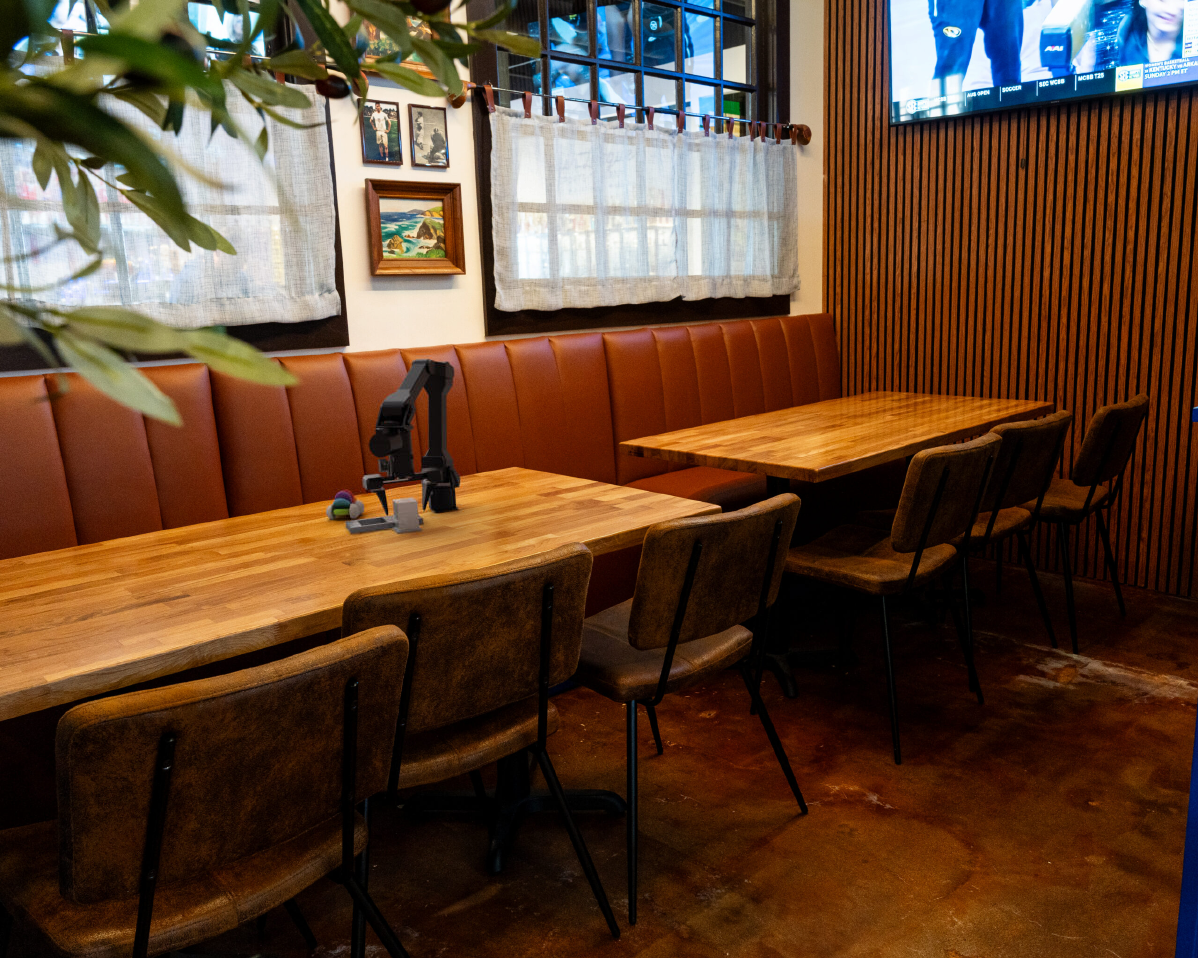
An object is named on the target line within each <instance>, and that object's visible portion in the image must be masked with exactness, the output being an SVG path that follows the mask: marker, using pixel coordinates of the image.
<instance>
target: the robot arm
mask: <svg viewBox="0 0 1198 958" xmlns="http://www.w3.org/2000/svg"><path fill="white" fill-rule="evenodd" d="M454 377H455V368H454V366H453V365H451V363H450V362H449V361H436V360H433V359H430V358H416V359H415V360H414V359H413V360H412V362H411V367H410V369H409V370H408V373H407V374H406V376H405V378H404V379H403V381H402V382H401V384H400V385H399V388H398V389H397V390H396V391H395V392H392V393H391V394H389V395H388V396H386V398H385V399H384V400H383V401H382V403H381V405H380V407H379V410H378V414H377V419H376V423H375V428H374V430H375V434H373V435H372V436H371V437H370V439H369V441H368V442H369V443H368V449H369V451H370V452H371V454H372V455H373V456H374V457H376V458H379V459H378V460H377V462H378V472H379V473H386V476H382V475H380V474H379V473H375V474H366V475H364V476H363V477H362V487H363V488H364V489H365V490H367V491H370V492H371V493H373V494H375V495H376V496H377V498H378V500H379V502H380V505H381V507H382V509H383V512H384V513H385V516H389V505H388V499H387V495H386V489H385V488H384V485H391V484H399V483H406V482H407V483H408V482H416V481H421V482H420V483H421V506H422V507H421V508H422V510H423V512H425V511H426V509H427V506H428V508H429V509H430V510H431V511H432V512H433V513H436V514H437V513H443V512H444V513H445V512H449V511H450V512H451V511H458V510H459V507H457V499H456V498H457V497H456V488H460V486H461V477H460V475H459V472H457V470H456V468H455V467H454V459H453V457H452V456H451V454H450V453H449V451H448V443H447V442H448V436H447V435H448V426H447V425H448V422H447V421H448V419H447V411H448V409H447V408H448V407H447V403H448V402H447V400H448V399H447V398H448V397H447V396H448V394H449V392H450V390H451V389H452V387H453V385H454ZM423 389H424V391H425V392H426V394H427V406H428V407H427V408H428V409H427V411H428V412H427V413H428V415H427V418H428V419H427V421H428V422H427V425H428V427H427V429H428V432H427V434H428V435H427V437H428V439H427V440H428V449H427V451H426V454H425V455H424V456H423V455H422V457H421V459H420V461H421V467H420V472H415V466H414V465H415V464H414V460H415V459H414V453H413V439H412V430H414V428H415V427H414V425H413V424H412V422H413V419H414V417H415V414H416V411H417V408H416V405H415V403H416V400H417V399H418V397H419V395H420V393H421V392H422V390H423ZM385 457H388V460H387V458H385Z"/></svg>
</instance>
